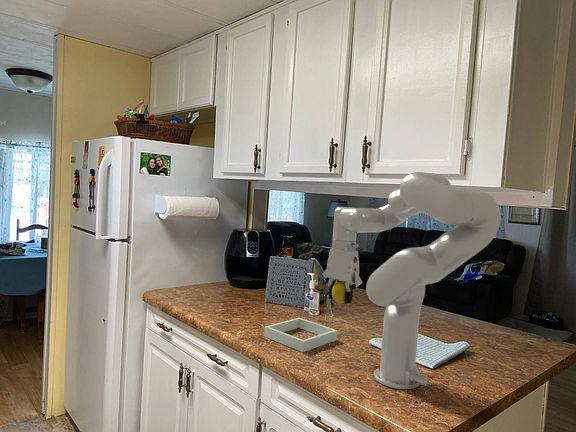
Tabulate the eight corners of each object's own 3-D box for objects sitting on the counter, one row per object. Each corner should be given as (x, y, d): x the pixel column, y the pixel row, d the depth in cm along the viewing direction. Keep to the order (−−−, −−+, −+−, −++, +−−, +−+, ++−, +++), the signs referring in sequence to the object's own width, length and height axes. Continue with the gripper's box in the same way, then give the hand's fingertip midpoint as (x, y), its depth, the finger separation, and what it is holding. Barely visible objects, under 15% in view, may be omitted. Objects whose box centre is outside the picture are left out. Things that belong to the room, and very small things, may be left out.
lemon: (334, 307, 135) (336, 282, 135) (328, 302, 141) (330, 278, 140) (351, 306, 137) (352, 282, 136) (344, 302, 142) (345, 278, 142)
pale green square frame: (336, 340, 149) (337, 330, 149) (302, 352, 136) (303, 341, 136) (298, 326, 162) (299, 317, 161) (264, 336, 149) (264, 326, 148)
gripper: (373, 248, 134) (368, 305, 135) (329, 241, 146) (326, 293, 147) (359, 249, 129) (355, 308, 130) (315, 242, 141) (312, 296, 142)
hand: (340, 300), depth 138 cm, fingers closed on lemon, 5 cm apart
